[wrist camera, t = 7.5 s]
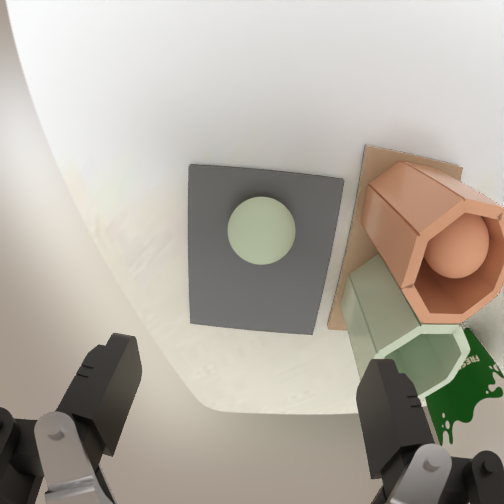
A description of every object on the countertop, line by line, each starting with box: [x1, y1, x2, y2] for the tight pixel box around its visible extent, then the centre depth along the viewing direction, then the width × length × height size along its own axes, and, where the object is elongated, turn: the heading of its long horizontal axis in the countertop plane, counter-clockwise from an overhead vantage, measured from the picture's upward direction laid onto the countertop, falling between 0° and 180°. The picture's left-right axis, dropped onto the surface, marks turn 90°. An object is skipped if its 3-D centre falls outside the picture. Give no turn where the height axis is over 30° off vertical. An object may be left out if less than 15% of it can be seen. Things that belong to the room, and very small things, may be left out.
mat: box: [188, 164, 344, 335], centre depth 25 cm, size 11×14×1 cm
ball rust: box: [424, 213, 489, 278], centre depth 16 cm, size 4×4×4 cm
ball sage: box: [228, 197, 296, 265], centre depth 22 cm, size 4×4×4 cm
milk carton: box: [425, 328, 504, 504], centre depth 21 cm, size 9×9×20 cm
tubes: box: [327, 145, 504, 400], centre depth 20 cm, size 8×16×10 cm, turn 176°
